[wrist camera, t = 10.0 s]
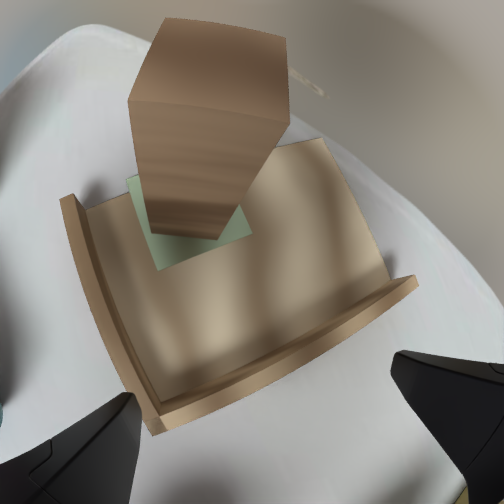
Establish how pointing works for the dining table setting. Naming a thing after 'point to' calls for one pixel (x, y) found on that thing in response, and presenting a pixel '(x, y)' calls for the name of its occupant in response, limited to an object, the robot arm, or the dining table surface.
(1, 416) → the flower pot
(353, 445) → the dining table surface
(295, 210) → the tray
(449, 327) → the dining table surface
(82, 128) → the dining table surface
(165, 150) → the walnut block
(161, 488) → the dining table surface
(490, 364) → the robot arm
